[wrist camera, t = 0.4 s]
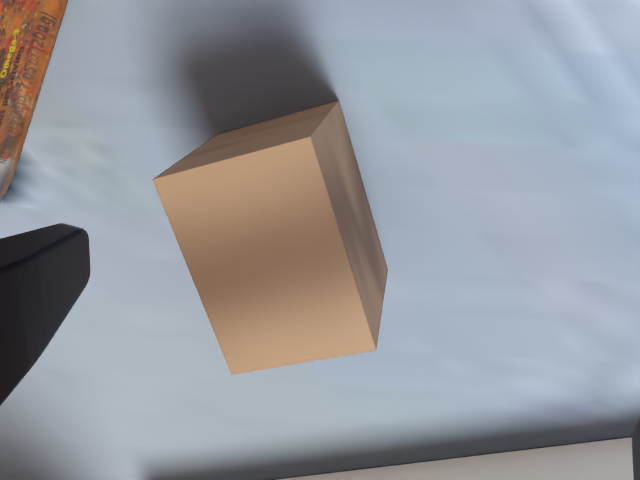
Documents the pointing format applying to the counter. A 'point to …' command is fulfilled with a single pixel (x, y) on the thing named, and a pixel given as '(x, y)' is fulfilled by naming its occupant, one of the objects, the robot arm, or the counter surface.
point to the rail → (512, 465)
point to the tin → (23, 71)
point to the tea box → (280, 240)
